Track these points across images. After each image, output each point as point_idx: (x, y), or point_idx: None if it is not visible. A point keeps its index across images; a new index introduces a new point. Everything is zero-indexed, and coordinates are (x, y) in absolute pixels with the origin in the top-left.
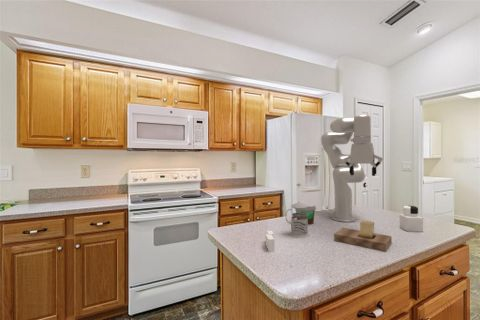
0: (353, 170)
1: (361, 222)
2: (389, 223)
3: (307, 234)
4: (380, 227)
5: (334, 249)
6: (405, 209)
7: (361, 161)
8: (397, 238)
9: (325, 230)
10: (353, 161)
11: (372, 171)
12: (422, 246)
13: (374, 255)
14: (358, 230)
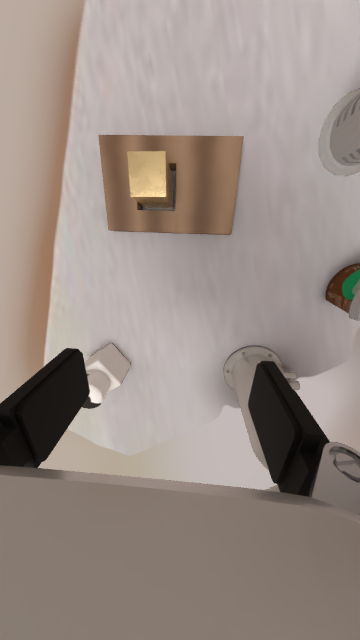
0: (263, 436)
1: (161, 155)
2: (154, 385)
3: (328, 131)
4: (163, 345)
5: (221, 44)
6: (96, 383)
7: (87, 540)
8: (115, 279)
9: (279, 238)
10: (355, 576)
11: (48, 371)
12: (64, 250)
13: (119, 83)
14: (188, 232)
